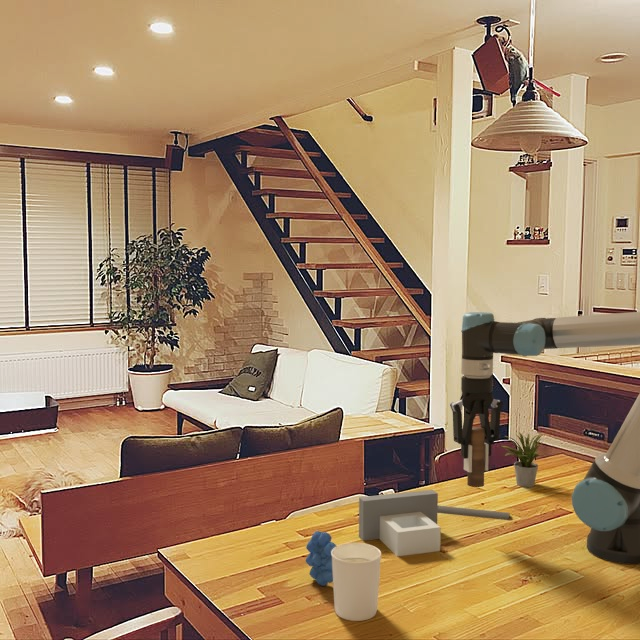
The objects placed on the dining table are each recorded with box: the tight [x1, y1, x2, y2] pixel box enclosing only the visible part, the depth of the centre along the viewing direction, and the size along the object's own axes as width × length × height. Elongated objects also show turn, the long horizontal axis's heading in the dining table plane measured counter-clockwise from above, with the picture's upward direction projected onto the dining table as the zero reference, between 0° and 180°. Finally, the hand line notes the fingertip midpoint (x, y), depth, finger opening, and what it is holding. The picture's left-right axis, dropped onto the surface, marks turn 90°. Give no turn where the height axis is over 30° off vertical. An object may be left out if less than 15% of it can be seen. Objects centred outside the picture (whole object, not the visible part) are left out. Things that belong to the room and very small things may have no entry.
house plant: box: [500, 431, 546, 488], centre depth 227 cm, size 14×14×16 cm
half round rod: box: [437, 505, 511, 521], centre depth 201 cm, size 4×20×2 cm, turn 73°
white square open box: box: [379, 512, 441, 557], centre depth 179 cm, size 11×11×6 cm
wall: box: [358, 489, 439, 542], centre depth 186 cm, size 3×20×10 cm, turn 107°
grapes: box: [305, 530, 337, 587], centre depth 157 cm, size 12×7×12 cm, turn 30°
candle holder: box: [331, 542, 382, 622], centre depth 146 cm, size 10×10×12 cm
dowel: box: [467, 426, 485, 488], centre depth 182 cm, size 4×4×14 cm
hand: (475, 469), depth 182 cm, fingers closed on dowel, 4 cm apart
